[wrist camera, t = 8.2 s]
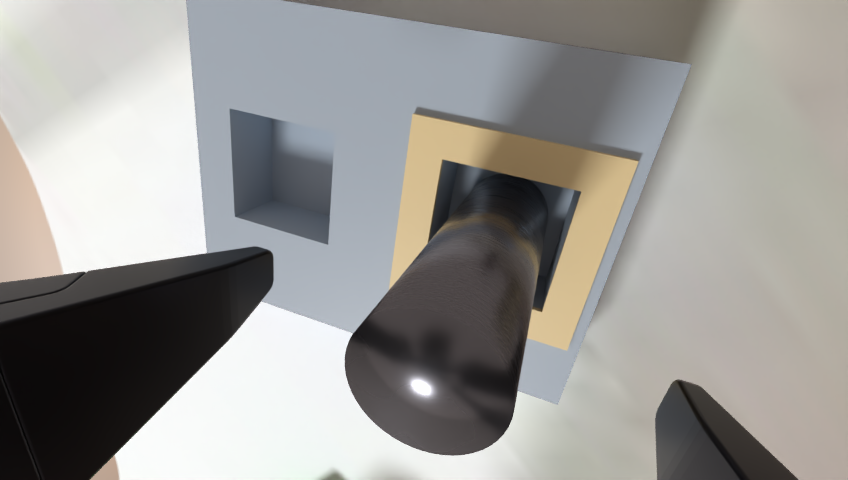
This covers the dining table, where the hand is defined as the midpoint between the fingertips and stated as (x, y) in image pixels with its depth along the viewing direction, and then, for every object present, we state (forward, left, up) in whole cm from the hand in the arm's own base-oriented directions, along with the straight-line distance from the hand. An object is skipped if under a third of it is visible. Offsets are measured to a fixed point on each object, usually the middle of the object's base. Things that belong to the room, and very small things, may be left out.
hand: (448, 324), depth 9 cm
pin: (0, 0, -8) cm, 8 cm away
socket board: (+4, 0, -9) cm, 10 cm away
